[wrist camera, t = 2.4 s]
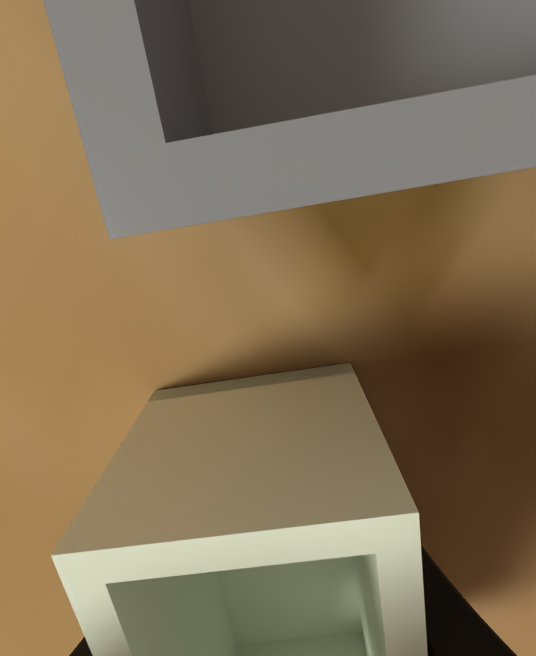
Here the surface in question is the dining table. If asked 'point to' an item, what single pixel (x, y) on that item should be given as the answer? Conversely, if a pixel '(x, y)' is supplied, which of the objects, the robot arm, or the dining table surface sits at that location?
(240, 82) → the charcoal crate
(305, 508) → the sage crate
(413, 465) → the dining table surface
